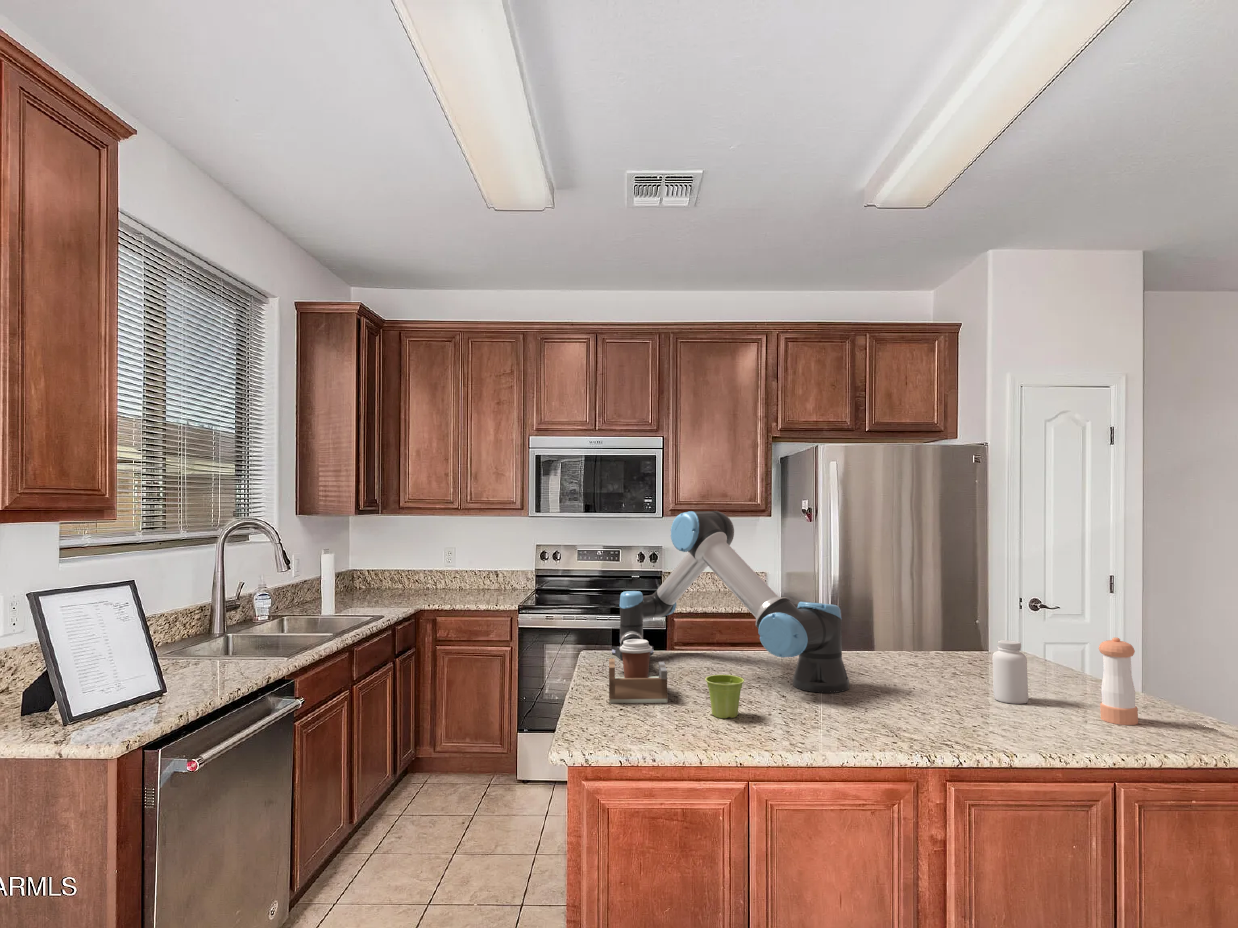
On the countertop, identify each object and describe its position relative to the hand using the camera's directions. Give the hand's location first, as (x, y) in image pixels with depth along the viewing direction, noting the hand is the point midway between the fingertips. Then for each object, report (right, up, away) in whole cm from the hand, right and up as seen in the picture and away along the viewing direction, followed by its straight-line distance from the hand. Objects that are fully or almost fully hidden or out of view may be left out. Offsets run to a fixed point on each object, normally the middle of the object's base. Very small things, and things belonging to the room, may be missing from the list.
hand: (634, 661), depth 213 cm
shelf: (+1, -6, -7) cm, 9 cm away
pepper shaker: (+112, -4, -38) cm, 119 cm away
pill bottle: (+97, -5, -20) cm, 99 cm away
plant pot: (+21, -5, -31) cm, 38 cm away
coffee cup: (+1, -5, -5) cm, 7 cm away
